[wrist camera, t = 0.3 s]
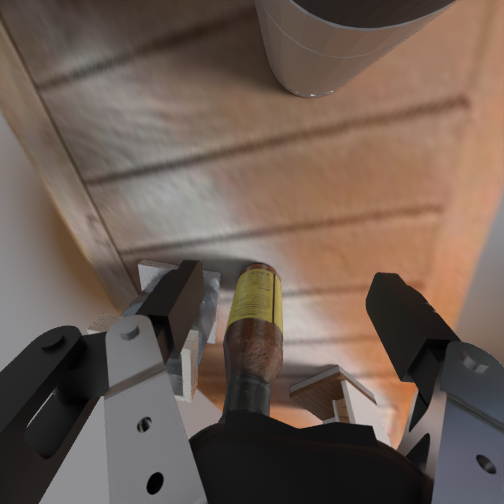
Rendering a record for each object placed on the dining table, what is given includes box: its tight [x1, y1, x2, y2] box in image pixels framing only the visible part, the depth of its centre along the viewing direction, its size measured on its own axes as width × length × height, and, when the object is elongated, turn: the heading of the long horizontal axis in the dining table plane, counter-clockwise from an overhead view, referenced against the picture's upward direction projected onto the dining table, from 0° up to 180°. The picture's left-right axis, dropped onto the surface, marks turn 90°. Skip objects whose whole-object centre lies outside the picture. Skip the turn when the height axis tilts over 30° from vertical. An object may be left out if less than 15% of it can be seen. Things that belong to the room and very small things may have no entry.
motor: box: [87, 259, 221, 403], centre depth 32 cm, size 14×12×12 cm
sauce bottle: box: [218, 264, 283, 423], centre depth 24 cm, size 7×6×20 cm
